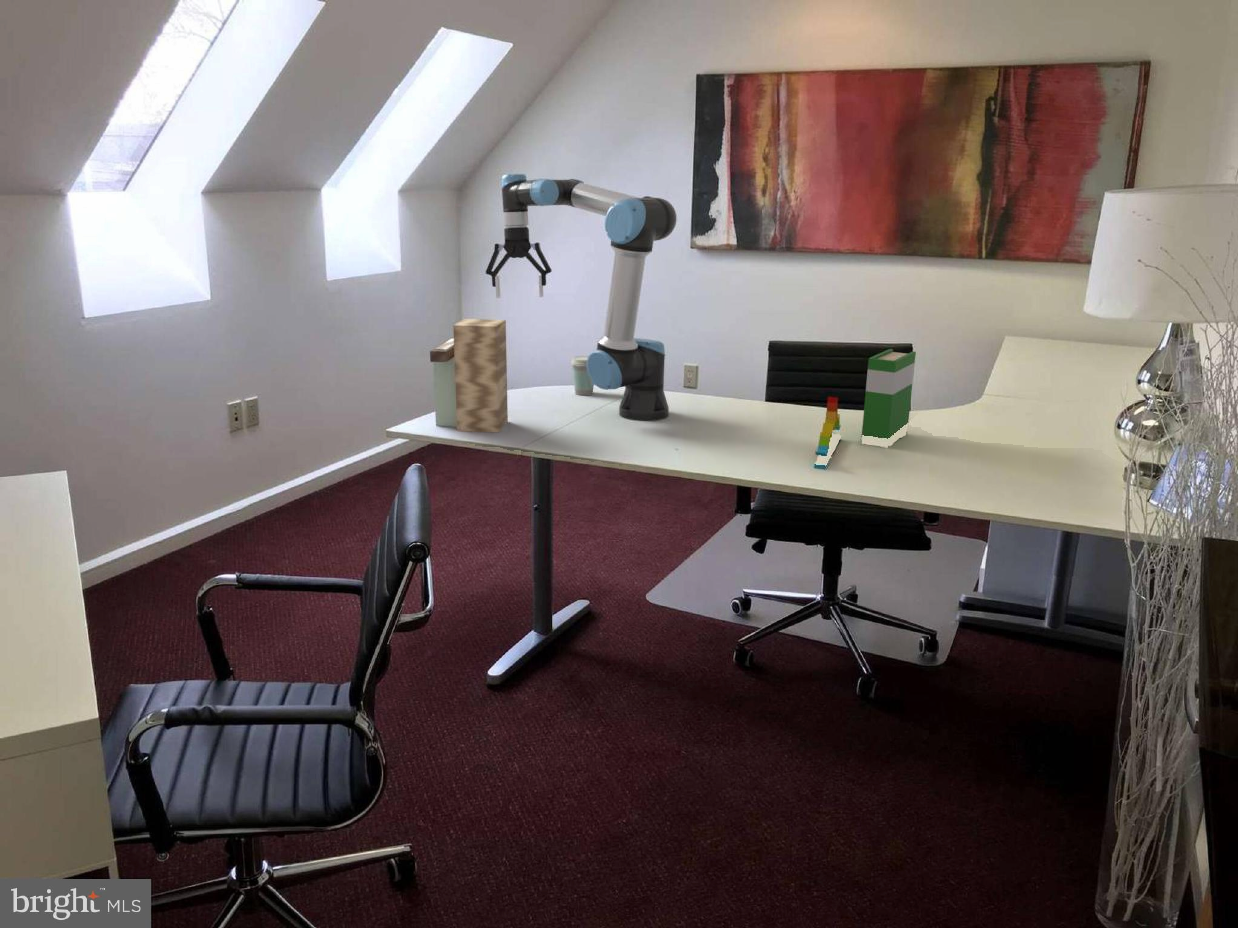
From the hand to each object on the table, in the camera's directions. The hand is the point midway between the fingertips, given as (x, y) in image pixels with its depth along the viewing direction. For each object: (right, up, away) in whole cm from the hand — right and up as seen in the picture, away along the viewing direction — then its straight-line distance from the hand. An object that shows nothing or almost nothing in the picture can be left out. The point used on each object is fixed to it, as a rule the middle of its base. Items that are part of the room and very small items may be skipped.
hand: (519, 297), depth 300 cm
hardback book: (+106, -45, -28) cm, 118 cm away
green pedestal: (-18, -40, -17) cm, 47 cm away
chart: (+87, -49, -42) cm, 108 cm away
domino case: (-18, -21, -23) cm, 36 cm away
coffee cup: (+19, -29, +21) cm, 40 cm away
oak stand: (-9, -41, -21) cm, 47 cm away
